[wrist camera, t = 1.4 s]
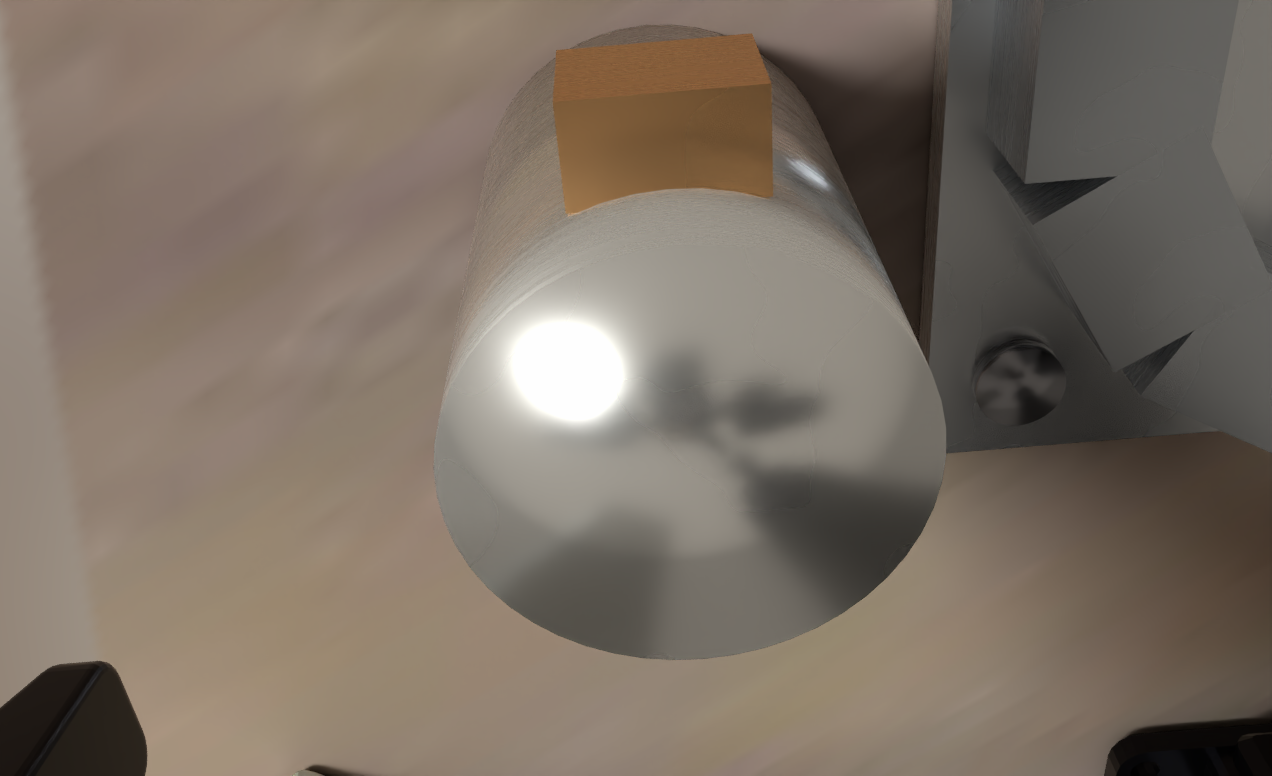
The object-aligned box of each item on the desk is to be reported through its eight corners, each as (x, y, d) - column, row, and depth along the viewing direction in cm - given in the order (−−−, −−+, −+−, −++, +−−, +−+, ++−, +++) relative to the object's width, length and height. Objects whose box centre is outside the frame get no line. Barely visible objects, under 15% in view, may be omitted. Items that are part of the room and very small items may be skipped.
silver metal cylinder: (828, 333, 17) (932, 641, 12) (508, 360, 17) (474, 676, 12) (833, -65, 14) (972, 115, 9) (447, -31, 14) (369, 168, 9)
